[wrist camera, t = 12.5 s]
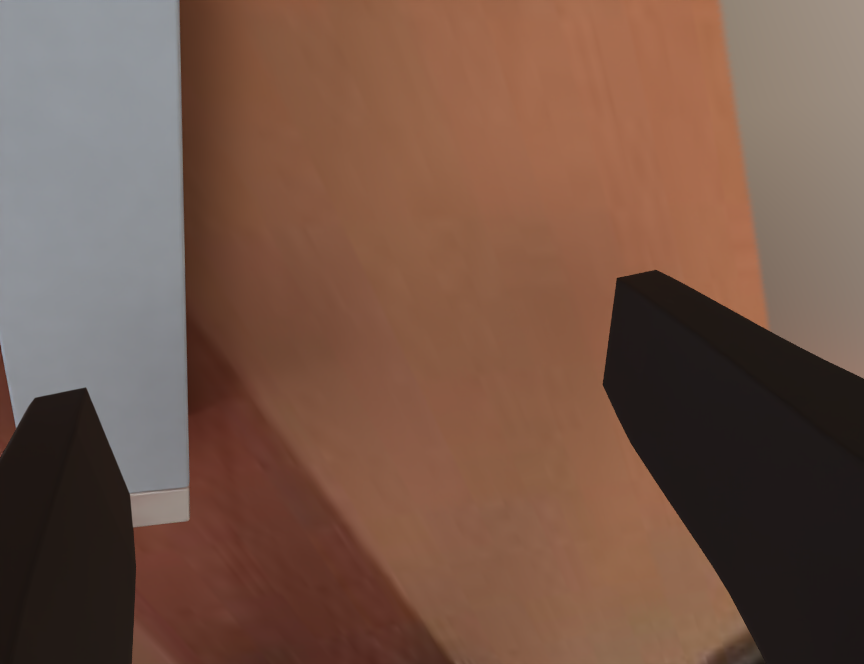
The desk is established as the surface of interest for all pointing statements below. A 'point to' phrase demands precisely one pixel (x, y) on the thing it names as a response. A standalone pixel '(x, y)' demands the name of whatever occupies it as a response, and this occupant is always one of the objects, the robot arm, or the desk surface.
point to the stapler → (98, 228)
